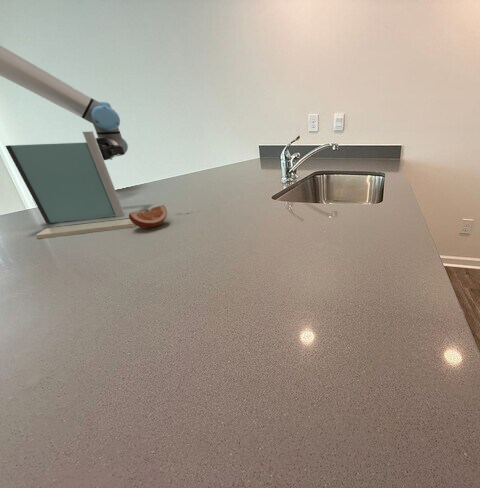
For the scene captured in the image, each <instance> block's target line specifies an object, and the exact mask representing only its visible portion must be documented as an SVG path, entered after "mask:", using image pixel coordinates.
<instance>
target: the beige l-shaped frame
mask: <svg viewBox="0 0 480 488" xmlns="http://www.w3.org/2000/svg"><path fill="white" fill-rule="evenodd" d="M82 135H83V137H84V139H85V142H86V143H87V145H88V147H89V150H90V152H91V155H92V157H93V160H94V162H95V165H96V168H97V170H98V173H99V175H100V178H101V180H102V183H103V185H104V188H105V190H106V193H107V195H108V198H109V200H110V203H111V205H112V208H113V210H114V213H115V217H116V218H117V219H109V220H101V221H91V222H84V223H75V224H73V223H72V224H67V225H57V226H48V227H47V228H44V229H43V230H42V231H40V232H38V233H37V234H35V237H36V239H37V240H40V239H49V238H56V237H64V236H73V235H79V234H88V233H96V232H105V231H106V232H107V231H112V230H121V229H129V228H134V227H136V225H135V224H134V223H133V222H132V221H131V220H130V218H129V217H127V218H123V217H125V215H126V214H125V212H124V209H123V207H122V205H121V202H120V199H119V196H118V194H117V191H116V189H115V185H114V183H113V180H112V178H111V176H110V172H109V170H108V167H107V164H106V162H105V160H104V159H103V157H102V154H101V151H100V149H99V146H98V144H97V141H96V138H97V137H96V135H95V133H94V131H93V130H84V131H83V130H82Z"/></svg>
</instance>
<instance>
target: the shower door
mask: <svg viewBox="0 0 480 488" xmlns="http://www.w3.org/2000/svg"><path fill="white" fill-rule="evenodd" d="M5 148H6V150H7V153H8V154H9V156H10V158H11V160H12V161H13V163H14V165H15V167H16V169H17V171H18V173H19V174H20V177H21V179H22V180H23V182H24V185H25V187H26V188H27V190H28V191H29V193H30V195H31V197H32V199H33V201H34V203H35V205H36V207H37V209H38V211H39V213H40V215H41V216H42V218H43V220H44V222H45V224H52V223H53V224H54V223H60V222H69V221H77V220H78V221H79V220H89V219H97V218H106V217H114V216H115V217H116V215H115V213H114V210H113V208H112V205H111V203H110V200H109V198H108V195H107V193H106V190H105V188H104V185H103V183H102V180H101V178H100V175H99V173H98V170H97V168H96V165H95V162H94V160H93V157H92V155H91V152H90V150H89V147H88V145H87V142H86V141H85V142H62V143H61V142H60V143H59V142H58V143H38V144H37V143H36V144H35V143H34V144H10V145H5Z"/></svg>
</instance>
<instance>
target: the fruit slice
mask: <svg viewBox="0 0 480 488" xmlns="http://www.w3.org/2000/svg"><path fill="white" fill-rule="evenodd" d="M167 215H168V210H167V208H166V206H165V205H164V204H162V205H158V206H155V207H151V208H150V209H142V210H141V209H140V210H138V211H137V210H136V211H133V212H132V211H131V212H129V214H128V218H130V220H131V221H132V222H133V223H134V224H135V226H137V227H139V228H142V229H151V228H156V227H158V226H160V225H161V224H163V223H164V221H165V219H167Z"/></svg>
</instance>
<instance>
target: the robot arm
mask: <svg viewBox="0 0 480 488" xmlns="http://www.w3.org/2000/svg"><path fill="white" fill-rule="evenodd" d="M0 77H3V78H4V79H6V80H8V81H9V82H12V83H14V84H16V85H18V86H20V87H21V88H23V89H25V90H28V91H29V92H31V93H33V94H35V95H37V96H39V97H41V98H42V99H45V100H47V101H49V102H51V103H53V104H54V105H56V106H58V107H60V108H62V109H64V110H66V111H68V112H70V113H71V114H74V115H75V116H78V117H80V118H82V119H83V120H85V121H87V122H89V123H91V124H92V125H93V128H94V131H95V132H96V136H97V137H95V138H96V141H97V144H98V146H99V149H100V151H101V154H102V157H103V159H104V161H108V160H109V161H112V160H113V158H117V157H121V156H124V155H126V153H127V152H128V150H129V145H128V142H127V141H126V140H125V139H124V138H123V137H122V133H121V131H120V128H119V127H120V124H121V118H120V115H119V114H118V112H117V111H115V109H113V107H112V104H111V103H109V102H107V101H98V100H96V99H94V98H92V97H91V96H89V95H88V94H85V93H84V92H82V91H81V90H79V89H77V88H75V87H74V86H71V85H70V84H68V83H66V82H65V81H63V80H61V79H59V78H58V77H56V76H55V75H53V74H51V73H50V72H47V71H46V70H44V69H43V68H41V67H39V66H37V65H36V64H33V63H32V62H30V61H29V60H27V59H25V58H23V57H21V56H20V55H18V54H16V53H15V52H13V51H11V50H10V49H8V48H6V47H4V46H2V45H1V44H0Z"/></svg>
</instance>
